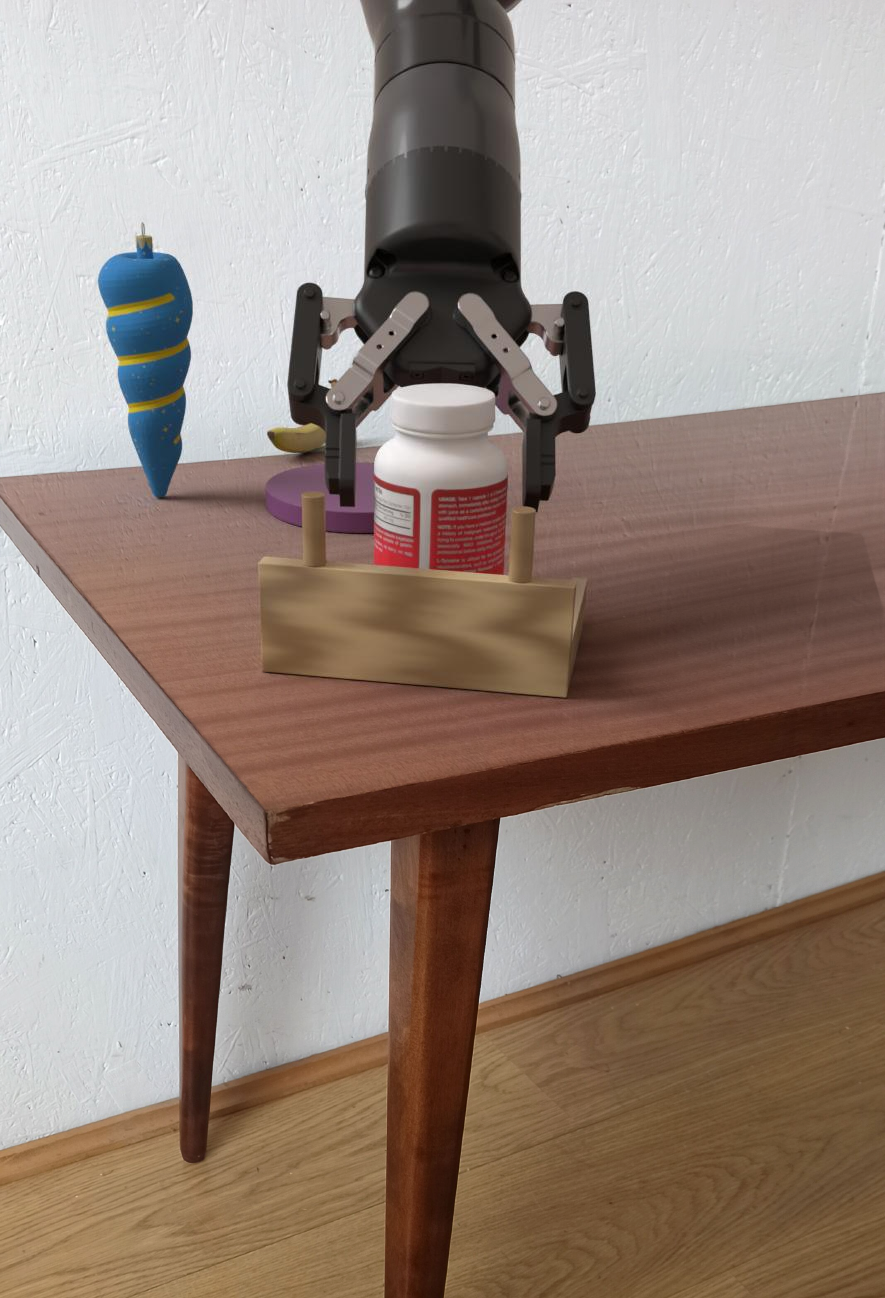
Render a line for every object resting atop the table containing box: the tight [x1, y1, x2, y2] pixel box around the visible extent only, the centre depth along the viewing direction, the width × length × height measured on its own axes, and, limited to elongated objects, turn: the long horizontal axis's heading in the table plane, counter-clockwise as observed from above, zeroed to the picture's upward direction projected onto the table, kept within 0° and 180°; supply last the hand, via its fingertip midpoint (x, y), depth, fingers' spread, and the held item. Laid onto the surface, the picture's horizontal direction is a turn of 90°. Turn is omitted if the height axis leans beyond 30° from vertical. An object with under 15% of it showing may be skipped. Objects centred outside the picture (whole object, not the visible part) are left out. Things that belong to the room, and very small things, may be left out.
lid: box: [265, 461, 374, 534], centre depth 91 cm, size 11×11×1 cm
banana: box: [266, 378, 338, 454], centre depth 101 cm, size 8×2×4 cm, turn 153°
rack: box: [257, 491, 588, 699], centre depth 70 cm, size 14×10×8 cm
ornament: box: [97, 222, 194, 499], centre depth 88 cm, size 5×5×15 cm
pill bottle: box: [373, 384, 509, 575], centre depth 71 cm, size 6×6×11 cm
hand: (440, 501), depth 70 cm, fingers open, 8 cm apart
